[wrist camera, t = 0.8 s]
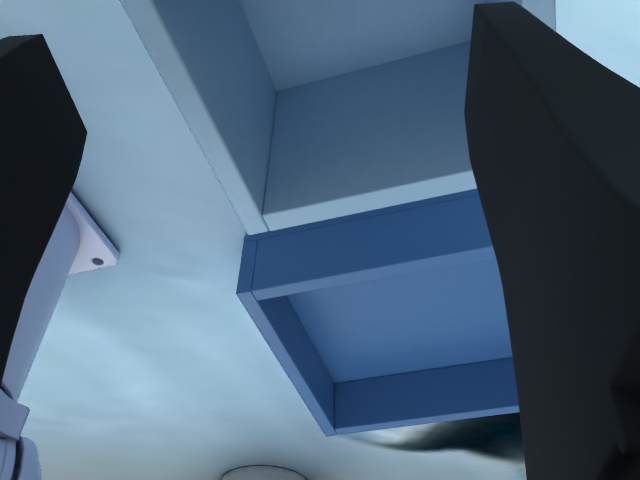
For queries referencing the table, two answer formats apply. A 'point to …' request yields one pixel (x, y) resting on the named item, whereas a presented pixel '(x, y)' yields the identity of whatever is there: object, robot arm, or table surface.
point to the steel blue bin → (386, 314)
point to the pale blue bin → (321, 98)
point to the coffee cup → (262, 474)
